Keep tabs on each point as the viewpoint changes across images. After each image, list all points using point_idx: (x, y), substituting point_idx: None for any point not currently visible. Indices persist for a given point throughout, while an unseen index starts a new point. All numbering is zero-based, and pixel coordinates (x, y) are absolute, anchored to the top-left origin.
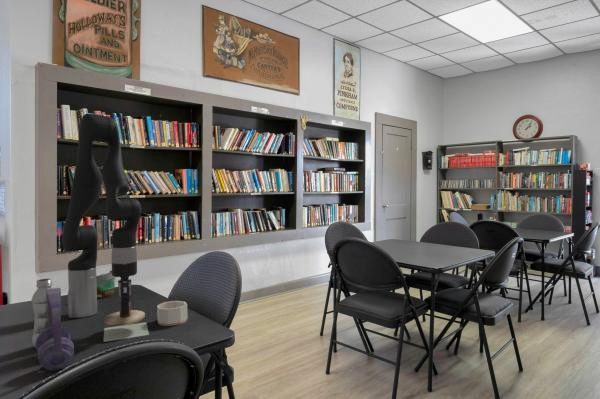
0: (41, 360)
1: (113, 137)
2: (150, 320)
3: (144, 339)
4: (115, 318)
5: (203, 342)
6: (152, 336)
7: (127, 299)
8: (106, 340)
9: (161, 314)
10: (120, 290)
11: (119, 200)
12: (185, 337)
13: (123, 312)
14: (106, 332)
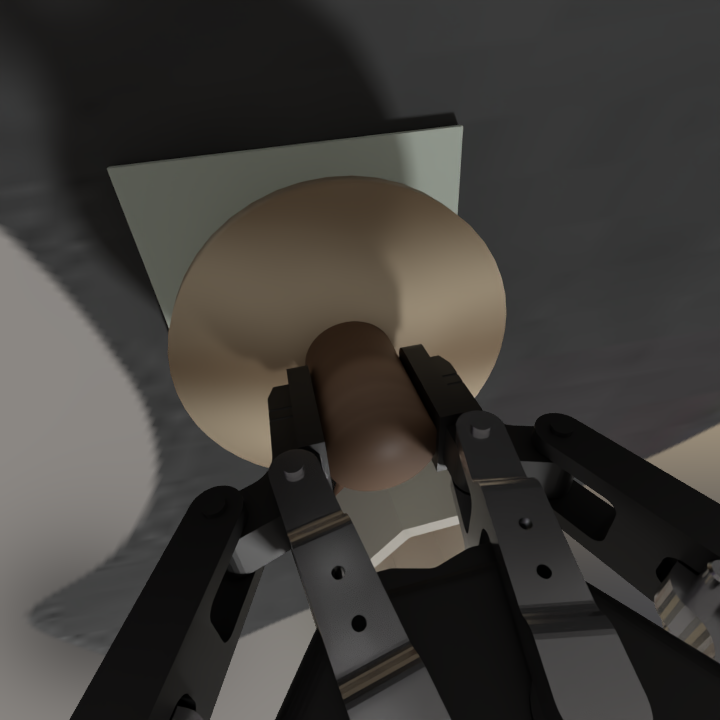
0: None
1: None
2: (485, 392)
3: (153, 419)
4: (299, 295)
5: (74, 624)
6: (200, 446)
7: (226, 577)
8: (136, 190)
9: (376, 511)
10: (323, 635)
11: None
12: (153, 565)
13: (268, 403)
14: (344, 160)
